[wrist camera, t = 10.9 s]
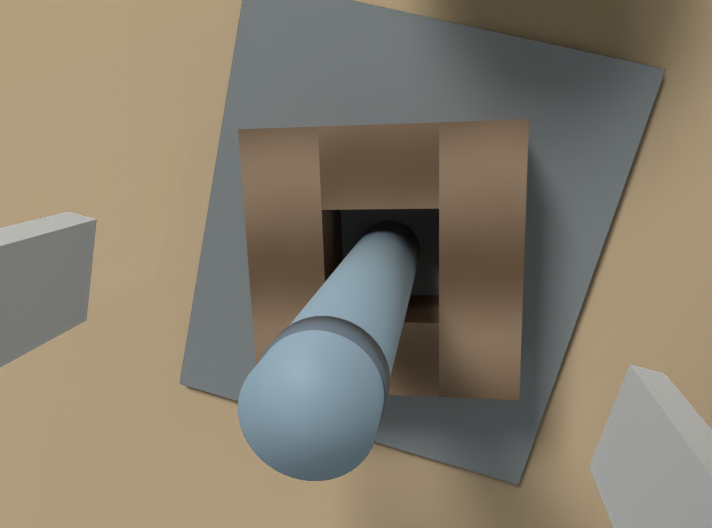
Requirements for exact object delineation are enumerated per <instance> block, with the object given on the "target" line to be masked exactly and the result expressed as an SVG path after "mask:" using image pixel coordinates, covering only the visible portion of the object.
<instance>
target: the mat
mask: <svg viewBox="0 0 712 528" xmlns="http://www.w3.org/2000/svg"><path fill="white" fill-rule="evenodd" d="M665 70H666V69H662V68H658V67H653V66H649V65H644V64H639V63H635V62H630V61H626V60H621V59H617V58H612V57H608V56H603V55H598V54H594V53H589V52H585V51H580V50H576V49H571V48H567V47H562V46H557V45H553V44H548V43H544V42H539V41H535V40H530V39H526V38H521V37H516V36H512V35H507V34H503V33H498V32H494V31H489V30H484V29H480V28H475V27H471V26H466V25H462V24H457V23H453V22H448V21H443V20H439V19H434V18H430V17H425V16H421V15H416V14H412V13H407V12H402V11H398V10H393V9H389V8H384V7H380V6H375V5H371V4H366V3H361V2H357V1H352V0H242V6H241V12H240V18H239V24H238V30H237V36H236V42H235V48H234V55H233V61H232V67H231V73H230V79H229V85H228V91H227V97H226V103H225V110H224V116H223V122H222V128H221V134H220V140H219V146H218V152H217V158H216V164H215V171H214V177H213V183H212V189H211V195H210V201H209V207H208V213H207V219H206V226H205V232H204V238H203V244H202V250H201V256H200V262H199V268H198V274H197V280H196V287H195V293H194V299H193V305H192V311H191V317H190V323H189V329H188V335H187V342H186V348H185V354H184V360H183V366H182V372H181V378H180V384H182V385H185V386H188V387H192V388H195V389H198V390H202V391H205V392H208V393H212V394H215V395H219V396H222V397H225V398H229V399H232V400H235V401H239V395H240V391H241V388H242V386H243V384H244V381H245V380H246V378H247V377H248V375H249V374H250V372H251V371H252V370H253V369H254V368H255V366H256V360H255V347H254V333H253V320H252V307H251V294H250V281H249V267H248V254H247V241H246V228H245V215H244V201H243V188H242V175H241V162H240V149H239V135H238V129H262V128H290V127H319V126H347V125H375V124H403V123H432V122H460V121H488V120H517V119H529V135H528V163H527V192H526V221H525V250H524V278H523V307H522V336H521V365H520V394H519V400H498V399H475V398H451V397H428V396H404V395H388V399H387V403H386V407H385V411H384V414H383V417H382V420H381V421H380V423H379V426H378V430H377V434H376V438H375V441H374V442H376V443H379V444H383V445H386V446H389V447H393V448H396V449H399V450H403V451H406V452H409V453H413V454H416V455H419V456H423V457H426V458H429V459H433V460H436V461H439V462H443V463H446V464H450V465H453V466H456V467H460V468H463V469H466V470H470V471H473V472H476V473H480V474H483V475H486V476H490V477H493V478H496V479H500V480H503V481H506V482H510V483H513V484H517V485H518V484H519V482H520V479H521V476H522V473H523V470H524V467H525V465H526V462H527V459H528V456H529V453H530V450H531V448H532V445H533V442H534V439H535V436H536V434H537V431H538V428H539V425H540V422H541V419H542V417H543V414H544V411H545V408H546V405H547V403H548V400H549V397H550V394H551V391H552V388H553V386H554V383H555V380H556V377H557V374H558V371H559V369H560V366H561V363H562V360H563V357H564V355H565V352H566V349H567V346H568V343H569V340H570V338H571V335H572V332H573V329H574V326H575V324H576V321H577V318H578V315H579V312H580V309H581V307H582V304H583V301H584V298H585V295H586V293H587V290H588V287H589V284H590V281H591V278H592V276H593V273H594V270H595V267H596V264H597V261H598V259H599V256H600V253H601V250H602V247H603V245H604V242H605V239H606V236H607V233H608V230H609V228H610V225H611V222H612V219H613V216H614V214H615V211H616V208H617V205H618V202H619V199H620V197H621V194H622V191H623V188H624V185H625V183H626V180H627V177H628V174H629V171H630V168H631V166H632V163H633V160H634V157H635V154H636V151H637V149H638V146H639V143H640V140H641V137H642V135H643V132H644V129H645V126H646V123H647V120H648V118H649V115H650V112H651V109H652V106H653V104H654V101H655V98H656V95H657V92H658V89H659V87H660V84H661V81H662V78H663V75H664V72H665ZM382 221H397V222H400V223H403V224H405V225H406V226H408V227H409V228H410V229H411V230H412V231H413V232H414V233H415V235H416V236H417V238H418V241H419V244H420V257H419V261H418V266H417V270H416V274H415V278H414V282H413V286H412V290H411V294H410V295H439V209H351V210H341V229H342V255H343V260H344V258H345V257H346V256H347V255H348V254H349V252H350V251H351V250H352V249H353V248H354V246H355V245H356V244H357V243H358V241H359V240H360V239H361V238H362V237H363V235H364V234H365V233H366V232H367V231H368V229H370V228H371V227H372V226H373V225H375V224H377V223H379V222H382Z"/></svg>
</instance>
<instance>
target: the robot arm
mask: <svg viewBox="0 0 712 528" xmlns="http://www.w3.org/2000/svg"><path fill="white" fill-rule="evenodd" d="M96 221H97V219H94V218H90V217H86V216H83V215H79V214H75V213H72V212H65V213H61V214H57V215H52V216H48V217H44V218H40V219H36V220H31V221H27V222H23V223H19V224H15V225H10V226H6V227H2V228H0V367H2V366H3V365H5V364H7V363H9V362H11V361H13V360H14V359H16V358H18V357H20V356H22V355H24V354H25V353H27V352H29V351H31V350H33V349H35V348H36V347H38V346H40V345H42V344H44V343H46V342H47V341H49V340H51V339H53V338H55V337H57V336H58V335H60V334H62V333H64V332H66V331H68V330H69V329H71V328H73V327H75V326H77V325H79V324H80V323H82V322H84V321H86V320H87V310H88V300H89V290H90V280H91V270H92V260H93V250H94V240H95V231H96ZM589 467H590V470H591V472H592V475H593V478H594V480H595V483H596V485H597V488H598V490H599V493H600V495H601V498H602V500H603V503H604V505H605V508H606V511H607V513H608V516H609V518H610V521H611V523H612V526H613V528H712V430H711V428H710V427H709V426H708V425H707V424H706V423H705V421H704V420H703V419H702V418H701V417H700V415H699V414H698V413H697V412H696V411H695V409H694V408H693V407H692V406H691V405H690V403H689V402H688V401H687V400H686V399H685V397H684V396H683V395H682V394H681V393H680V391H679V390H678V389H677V388H676V387H675V385H674V384H673V383H672V382H671V381H670V379H669V378H668V377H667V376H666V375H665V374H664V373H660V372H657V371H653V370H649V369H646V368H642V367H638V366H635V365H631V364H630V366H629V368H628V371H627V374H626V376H625V379H624V381H623V384H622V386H621V389H620V391H619V394H618V396H617V399H616V401H615V404H614V406H613V409H612V411H611V414H610V416H609V419H608V421H607V424H606V426H605V429H604V431H603V434H602V436H601V439H600V441H599V444H598V446H597V449H596V451H595V454H594V456H593V459H592V461H591V464H590V466H589Z"/></svg>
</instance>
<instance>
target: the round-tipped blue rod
mask: <svg viewBox="0 0 712 528" xmlns="http://www.w3.org/2000/svg"><path fill="white" fill-rule="evenodd" d="M419 257H420V244H419V241H418V238H417V236H416V235H415V233H414V232H413V231H412V230H411V229H410V228H409V227H408V226H406V225H405V224H403V223H400V222H397V221H382V222H379V223H377V224H375V225H373V226H372V227H371V228H370V229H368V231H367V232H366V233H365V234H364V235H363V237H362V238H361V239H360V240H359V241H358V243H357V244H356V245H355V246H354V248H353V249H352V250H351V251H350V252H349V254H348V255H347V256H346V257H345V258H344V260H343V261H342V262H341V263H340V264H339V266H338V267H337V268H336V269H335V271H334V272H333V273H332V274H331V275H330V277H329V278H328V279H327V280H326V281H325V283H324V284H323V285H322V286H321V288H320V289H319V290H318V291H317V292H316V294H315V295H314V296H313V297H312V298H311V300H310V301H309V302H308V303H307V305H306V306H305V307H304V308H303V309H302V311H301V312H300V313H299V314H298V315H297V317H296V318H295V319H294V320H293V321H292V323H291V324H290V325H289V326H288V327H286V328H285V329H284V330H283V331H282V332H281V333H280V334H279V335H278V336H277V337H276V339H275V340H274V341H273V342H272V343H271V345H270V346H269V347H268V348H267V349H266V351H265V352H264V353H263V355H262V357H261V358H260V360H259V363H258V364H257V365H256V366H255V368H254V369H253V370H252V371H251V372H250V374H249V375H248V377H247V378H246V380H245V381H244V384H243V386H242V388H241V391H240V395H239V401H238V416H239V423H240V426H241V429H242V432H243V434H244V437H245V439H246V441H247V442H248V444H249V446H250V447H251V448H252V450H253V451H254V452H255V454H256V455H257V456H258V457H259V458H260V459H261V460H262V461H264V462H265V463H266V464H267V465H268V466H270V467H272V468H273V469H275V470H276V471H278V472H280V473H282V474H284V475H287V476H290V477H292V478H296V479H300V480H307V481H323V480H330V479H334V478H337V477H340V476H342V475H345V474H346V473H348V472H350V471H352V470H353V469H354V468H356V467H357V466H358V465H359V464H360V463H361V462H362V461H363V460H364V459H365V458H366V456H367V455H368V454H369V452H370V450H371V448H372V446H373V444H374V441H375V438H376V434H377V430H378V426H379V423H380V421H381V420H382V417H383V414H384V411H385V407H386V403H387V399H388V394H389V389H390V377H391V372H392V368H393V364H394V360H395V356H396V352H397V348H398V344H399V340H400V335H401V331H402V327H403V323H404V319H405V315H406V311H407V307H408V303H409V298H410V294H411V290H412V286H413V282H414V278H415V274H416V270H417V266H418V261H419Z"/></svg>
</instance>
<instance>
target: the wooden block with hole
mask: <svg viewBox="0 0 712 528" xmlns="http://www.w3.org/2000/svg"><path fill="white" fill-rule="evenodd" d="M238 135H239V149H240V162H241V175H242V188H243V201H244V215H245V228H246V241H247V254H248V267H249V281H250V294H251V307H252V320H253V333H254V347H255V360H256V365H257V364H258V363H259V360H260V358H261V357H262V355H263V353H264V352H265V351H266V349H267V348H268V347H269V346H270V345H271V343H272V342H273V341H274V340H275V339H276V337H277V336H278V335H279V334H280V333H281V332H282V331H283V330H284V329H285V328H286V327H288V326H289V325H290V324H291V323H292V321H293V320H294V319H295V318H296V317H297V315H298V314H299V313H300V312H301V311H302V309H303V308H304V307H305V306H306V305H307V303H308V302H309V301H310V300H311V298H312V297H313V296H314V295H315V294H316V292H317V291H318V290H319V289H320V288H321V286H322V285H323V284H324V283H325V281H326V280H327V279H328V278H329V277H330V275H331V274H332V273H333V272H334V271H335V269H336V268H337V267H338V266H339V264H340V263H341V262H342V261H343V255H342V229H341V210H351V209H439V295H410V298H409V303H408V307H407V311H406V315H405V319H404V323H403V327H402V331H401V335H400V340H399V344H398V348H397V352H396V356H395V360H394V364H393V368H392V372H391V377H390V389H389V394H388V395H404V396H428V397H451V398H475V399H498V400H519V394H520V365H521V336H522V307H523V278H524V250H525V221H526V192H527V163H528V135H529V119H517V120H488V121H460V122H432V123H403V124H375V125H347V126H319V127H290V128H262V129H238Z"/></svg>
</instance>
